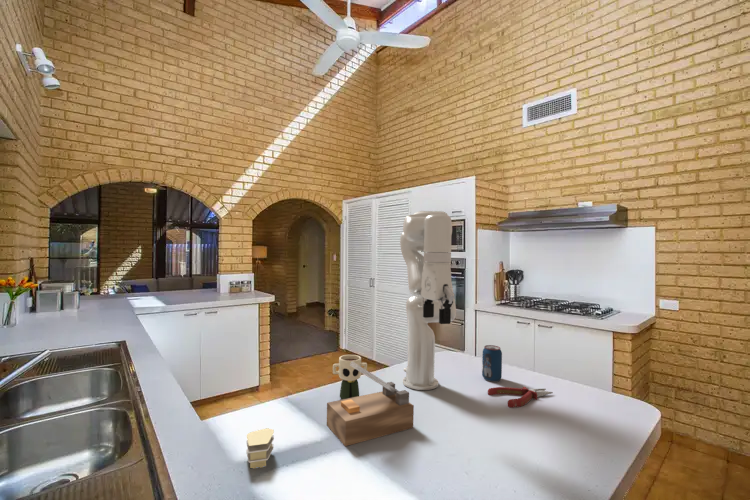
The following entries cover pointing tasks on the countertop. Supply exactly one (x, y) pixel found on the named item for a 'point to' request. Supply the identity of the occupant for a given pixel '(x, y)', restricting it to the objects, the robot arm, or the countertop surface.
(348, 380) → the character mug
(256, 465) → the pale yellow faceted block
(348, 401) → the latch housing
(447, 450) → the countertop surface
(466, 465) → the countertop surface
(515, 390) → the pliers
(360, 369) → the latch lever
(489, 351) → the soda can
